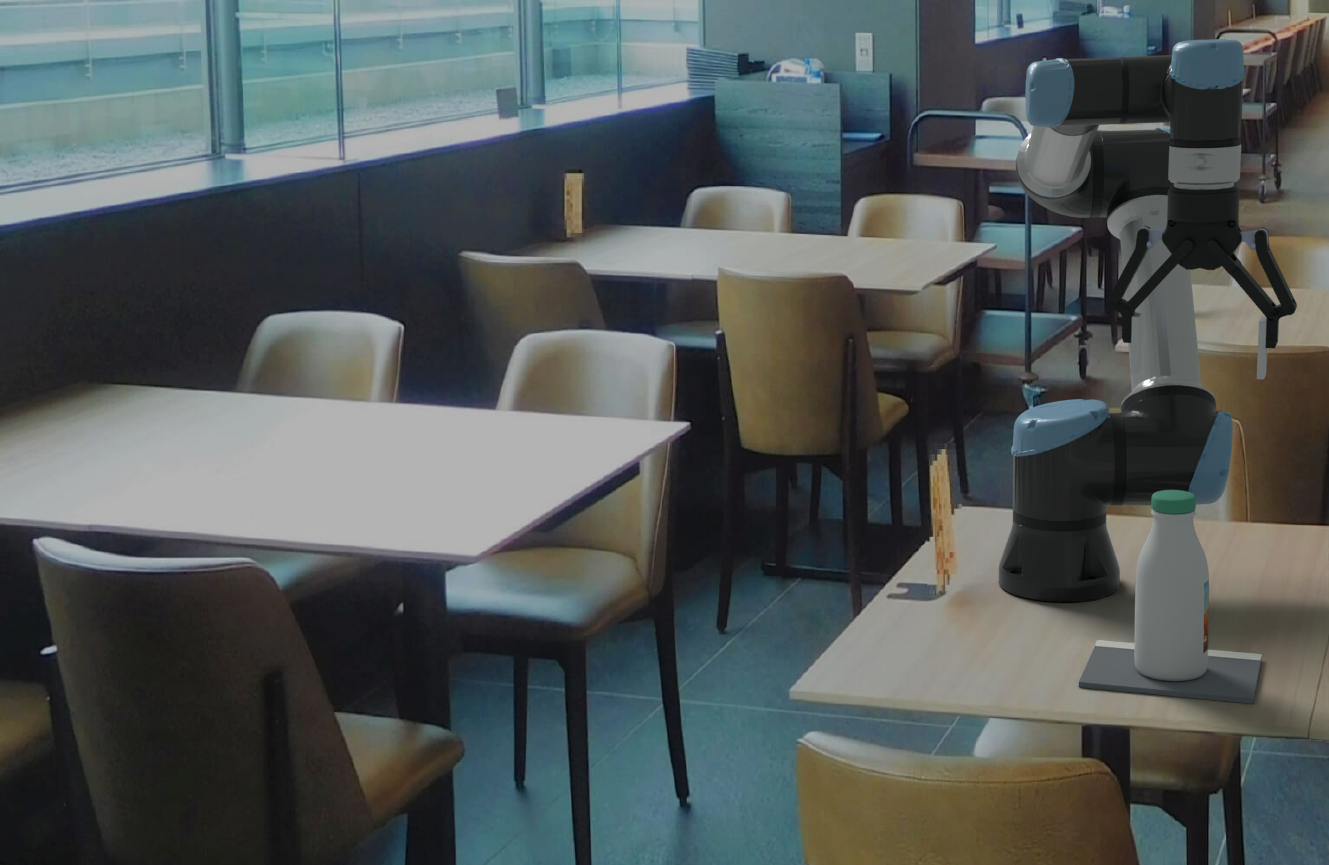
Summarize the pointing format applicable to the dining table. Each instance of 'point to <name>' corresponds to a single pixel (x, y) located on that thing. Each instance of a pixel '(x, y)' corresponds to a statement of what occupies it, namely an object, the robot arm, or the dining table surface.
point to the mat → (1221, 681)
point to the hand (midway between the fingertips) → (1197, 374)
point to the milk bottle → (1172, 593)
